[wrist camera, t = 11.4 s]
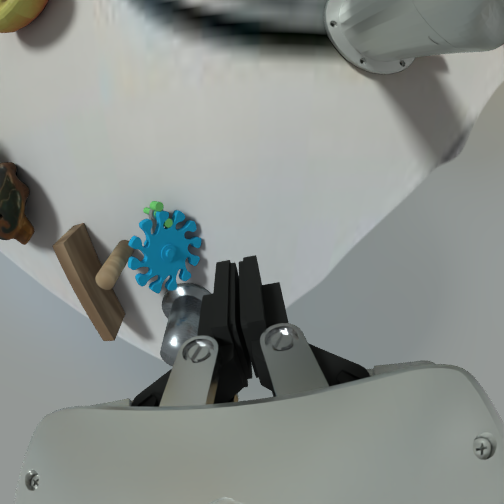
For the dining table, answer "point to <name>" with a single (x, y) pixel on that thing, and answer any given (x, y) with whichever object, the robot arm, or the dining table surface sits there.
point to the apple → (19, 13)
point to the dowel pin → (114, 265)
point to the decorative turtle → (13, 206)
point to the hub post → (181, 318)
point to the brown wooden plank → (89, 281)
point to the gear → (163, 248)
